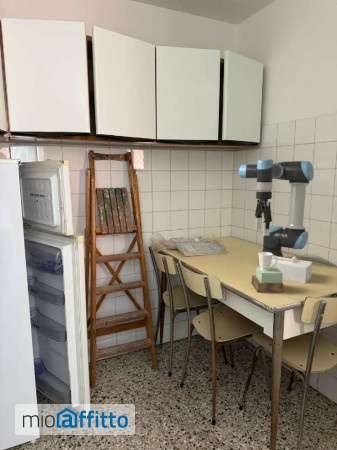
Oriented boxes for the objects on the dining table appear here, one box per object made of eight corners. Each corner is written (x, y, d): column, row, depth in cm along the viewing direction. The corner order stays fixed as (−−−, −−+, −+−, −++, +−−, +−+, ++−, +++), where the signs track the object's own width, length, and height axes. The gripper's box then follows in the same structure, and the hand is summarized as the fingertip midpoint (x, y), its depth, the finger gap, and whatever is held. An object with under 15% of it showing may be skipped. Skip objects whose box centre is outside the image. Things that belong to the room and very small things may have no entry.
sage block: (275, 276, 158) (276, 267, 157) (282, 283, 148) (282, 273, 147) (255, 276, 158) (256, 267, 157) (261, 283, 148) (261, 273, 148)
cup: (254, 267, 156) (255, 252, 155) (272, 266, 158) (273, 251, 157) (261, 271, 150) (262, 255, 148) (280, 270, 152) (281, 254, 150)
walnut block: (274, 284, 160) (275, 275, 160) (282, 293, 148) (283, 283, 148) (251, 284, 161) (252, 275, 160) (257, 293, 149) (258, 283, 148)
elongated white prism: (305, 283, 162) (306, 263, 160) (258, 274, 176) (259, 256, 174) (311, 276, 173) (312, 257, 171) (267, 268, 188) (268, 251, 186)
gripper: (250, 189, 165) (248, 228, 169) (264, 192, 141) (262, 238, 144) (263, 189, 165) (262, 228, 169) (280, 192, 141) (278, 237, 144)
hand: (262, 232), depth 157 cm, fingers open, 13 cm apart
